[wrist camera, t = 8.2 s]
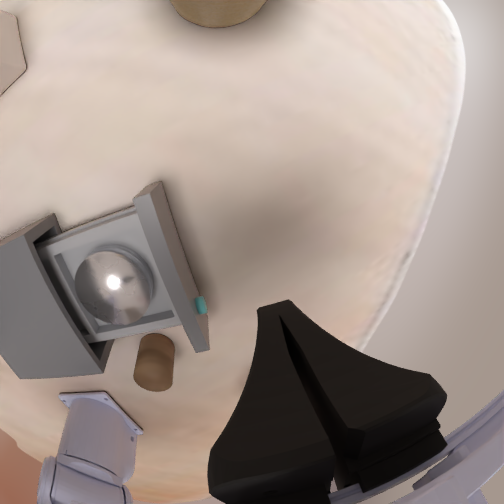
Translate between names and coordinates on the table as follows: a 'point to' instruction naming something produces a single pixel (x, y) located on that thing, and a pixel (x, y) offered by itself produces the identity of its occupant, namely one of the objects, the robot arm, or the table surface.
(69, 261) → the tray
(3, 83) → the medicine bottle
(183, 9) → the flower pot
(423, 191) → the table surface
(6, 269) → the disc
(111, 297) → the disc
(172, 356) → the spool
